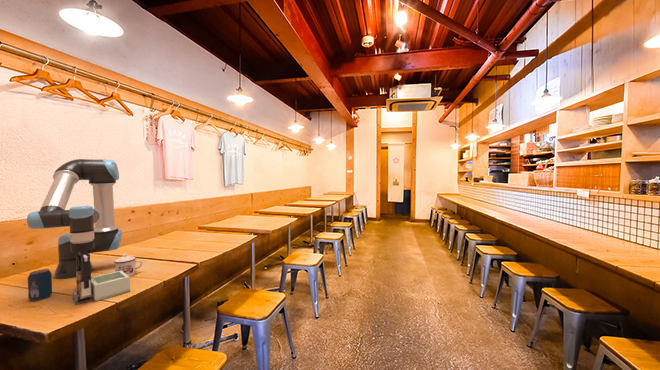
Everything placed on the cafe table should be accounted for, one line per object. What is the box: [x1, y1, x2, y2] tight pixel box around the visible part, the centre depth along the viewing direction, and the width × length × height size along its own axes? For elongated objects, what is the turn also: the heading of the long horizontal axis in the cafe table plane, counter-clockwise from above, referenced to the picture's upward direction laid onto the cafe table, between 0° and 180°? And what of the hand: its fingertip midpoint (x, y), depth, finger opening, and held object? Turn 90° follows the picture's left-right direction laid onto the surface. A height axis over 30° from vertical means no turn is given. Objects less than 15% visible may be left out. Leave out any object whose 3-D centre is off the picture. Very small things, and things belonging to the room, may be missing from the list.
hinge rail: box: [71, 288, 94, 306], centre depth 109 cm, size 8×6×5 cm
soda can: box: [27, 268, 53, 302], centre depth 111 cm, size 7×7×12 cm
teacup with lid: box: [113, 253, 143, 278], centre depth 137 cm, size 12×9×12 cm
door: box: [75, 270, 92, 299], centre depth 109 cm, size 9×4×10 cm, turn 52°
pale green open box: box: [91, 271, 131, 302], centre depth 116 cm, size 14×12×7 cm
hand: (84, 292), depth 109 cm, fingers closed on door, 9 cm apart
